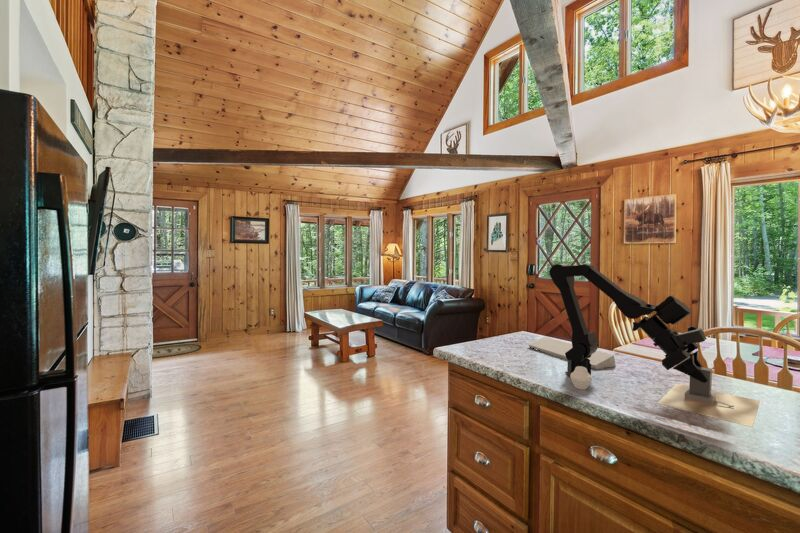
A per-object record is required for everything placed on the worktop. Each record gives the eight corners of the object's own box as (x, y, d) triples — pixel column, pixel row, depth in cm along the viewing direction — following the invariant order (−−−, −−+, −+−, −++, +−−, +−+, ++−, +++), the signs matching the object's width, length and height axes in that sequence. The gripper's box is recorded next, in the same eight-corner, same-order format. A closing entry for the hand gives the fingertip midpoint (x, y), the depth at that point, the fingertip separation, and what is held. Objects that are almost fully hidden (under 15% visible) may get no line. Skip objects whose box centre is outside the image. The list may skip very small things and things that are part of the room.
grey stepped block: (684, 399, 106) (685, 367, 105) (688, 394, 110) (689, 363, 109) (712, 406, 101) (713, 372, 101) (715, 400, 105) (716, 368, 105)
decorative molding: (597, 377, 138) (615, 367, 141) (595, 365, 137) (613, 355, 141) (530, 354, 169) (546, 346, 173) (528, 344, 168) (544, 336, 172)
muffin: (569, 389, 117) (570, 367, 117) (569, 383, 123) (570, 362, 122) (592, 392, 115) (592, 369, 114) (591, 386, 120) (591, 364, 120)
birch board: (654, 408, 103) (654, 403, 103) (674, 386, 120) (674, 382, 120) (754, 434, 89) (755, 428, 89) (762, 405, 105) (762, 400, 105)
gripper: (677, 321, 101) (730, 372, 93) (691, 313, 114) (739, 357, 106) (642, 345, 107) (690, 394, 100) (659, 335, 120) (702, 378, 112)
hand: (707, 380), depth 104 cm, fingers closed on grey stepped block, 3 cm apart
